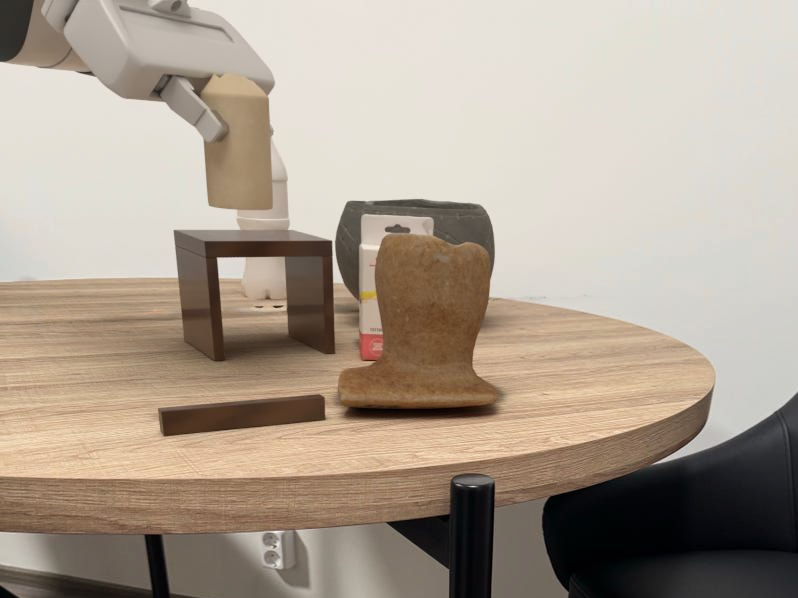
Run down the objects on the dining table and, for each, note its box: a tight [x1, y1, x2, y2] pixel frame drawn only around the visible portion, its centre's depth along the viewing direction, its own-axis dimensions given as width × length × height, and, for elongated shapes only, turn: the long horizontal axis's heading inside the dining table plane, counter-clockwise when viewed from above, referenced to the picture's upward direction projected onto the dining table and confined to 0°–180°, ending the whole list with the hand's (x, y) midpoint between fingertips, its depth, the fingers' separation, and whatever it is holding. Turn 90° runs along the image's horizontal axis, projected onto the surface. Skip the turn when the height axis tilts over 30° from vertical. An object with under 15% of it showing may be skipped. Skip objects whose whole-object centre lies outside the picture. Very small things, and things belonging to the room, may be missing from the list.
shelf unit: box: [173, 229, 336, 362], centre depth 106 cm, size 14×12×12 cm
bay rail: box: [157, 393, 326, 436], centre depth 79 cm, size 14×1×2 cm, turn 121°
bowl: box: [334, 198, 496, 302], centre depth 124 cm, size 21×21×15 cm
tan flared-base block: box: [337, 233, 500, 410], centre depth 86 cm, size 15×12×15 cm
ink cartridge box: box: [358, 214, 434, 361], centre depth 104 cm, size 9×5×15 cm, turn 100°
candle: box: [200, 73, 273, 211], centre depth 79 cm, size 6×6×10 cm
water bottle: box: [236, 124, 291, 309], centre depth 129 cm, size 7×7×25 cm
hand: (243, 137), depth 79 cm, fingers closed on candle, 5 cm apart
